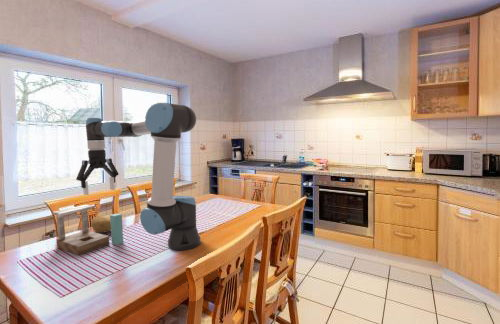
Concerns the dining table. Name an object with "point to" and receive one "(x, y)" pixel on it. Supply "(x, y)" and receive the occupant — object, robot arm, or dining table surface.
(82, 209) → the socket stand
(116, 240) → the peg
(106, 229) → the potato
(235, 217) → the dining table surface
